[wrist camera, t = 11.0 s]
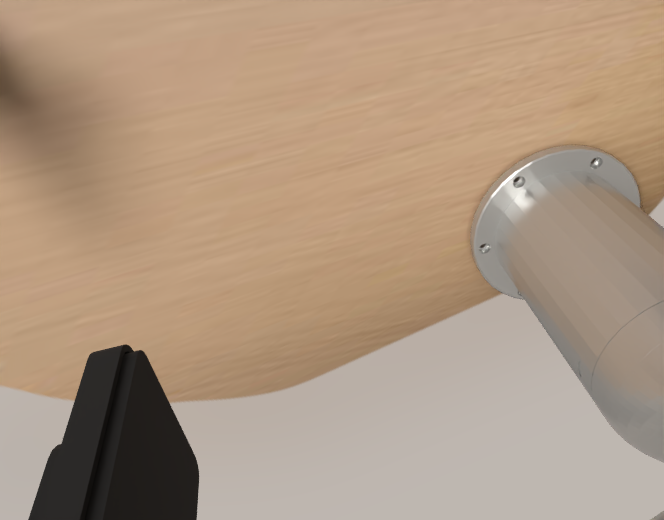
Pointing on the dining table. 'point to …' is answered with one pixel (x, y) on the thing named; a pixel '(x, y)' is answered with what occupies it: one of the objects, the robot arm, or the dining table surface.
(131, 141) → the dining table surface
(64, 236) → the dining table surface
